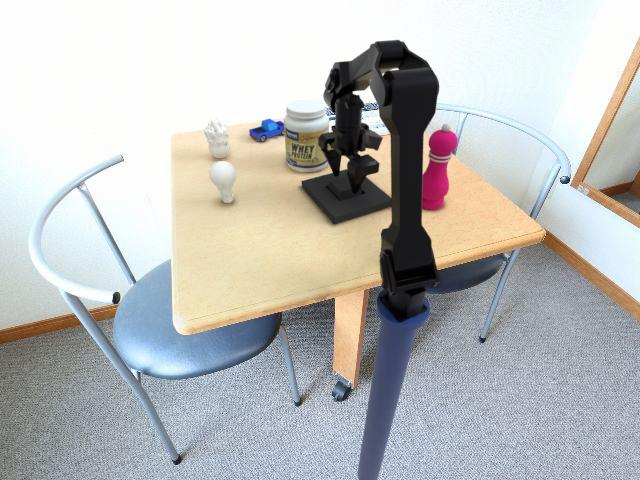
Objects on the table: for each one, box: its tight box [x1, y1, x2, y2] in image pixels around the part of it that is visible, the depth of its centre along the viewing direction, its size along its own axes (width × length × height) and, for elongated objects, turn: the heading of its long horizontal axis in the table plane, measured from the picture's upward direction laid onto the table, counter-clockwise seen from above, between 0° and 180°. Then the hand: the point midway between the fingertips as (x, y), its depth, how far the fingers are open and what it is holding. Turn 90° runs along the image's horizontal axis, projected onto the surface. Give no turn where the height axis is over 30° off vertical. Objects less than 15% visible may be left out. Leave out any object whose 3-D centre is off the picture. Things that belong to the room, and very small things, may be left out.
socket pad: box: [300, 168, 391, 225], centre depth 92 cm, size 18×16×2 cm
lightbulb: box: [208, 160, 237, 204], centre depth 87 cm, size 6×6×11 cm
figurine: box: [203, 117, 231, 159], centre depth 106 cm, size 7×7×12 cm
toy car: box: [248, 118, 285, 143], centre depth 119 cm, size 7×12×5 cm, turn 127°
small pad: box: [329, 175, 362, 201], centre depth 91 cm, size 6×6×4 cm
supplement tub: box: [283, 98, 330, 173], centre depth 101 cm, size 12×12×17 cm
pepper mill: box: [422, 122, 459, 211], centre depth 84 cm, size 7×7×20 cm
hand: (345, 184), depth 90 cm, fingers open, 9 cm apart
